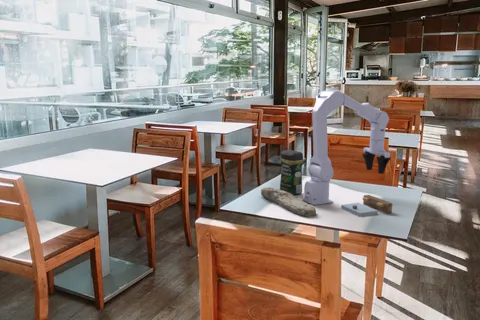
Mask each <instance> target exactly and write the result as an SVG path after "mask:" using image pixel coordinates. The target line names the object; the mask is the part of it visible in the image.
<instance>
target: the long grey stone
mask: <svg viewBox="0 0 480 320" xmlns="http://www.w3.org/2000/svg"><path fill="white" fill-rule="evenodd" d="M260 194H261V196H263V197H264V198H265V199H267V200H268V201H269V200H270V201H269V202H271V201H272V202H271V203H274V204H276V205H280V206H281V207H282V208H284V209H288V210H289V212H290V211H291V212H292V213H294V214H296V215H298V216H303V217H308V218H310V217H315V216H316V214H317V211H316V208H315V207H314V205H312V204H310V203H309V204H308V202H306V201H304V200H303V199H299V198H298V197H297V196H295V195H292V194H291V193H289V192H286V191H283V190H280V188H279V189H278V188H275V187H274V188H273V187H263V188H261V189H260Z"/></svg>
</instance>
